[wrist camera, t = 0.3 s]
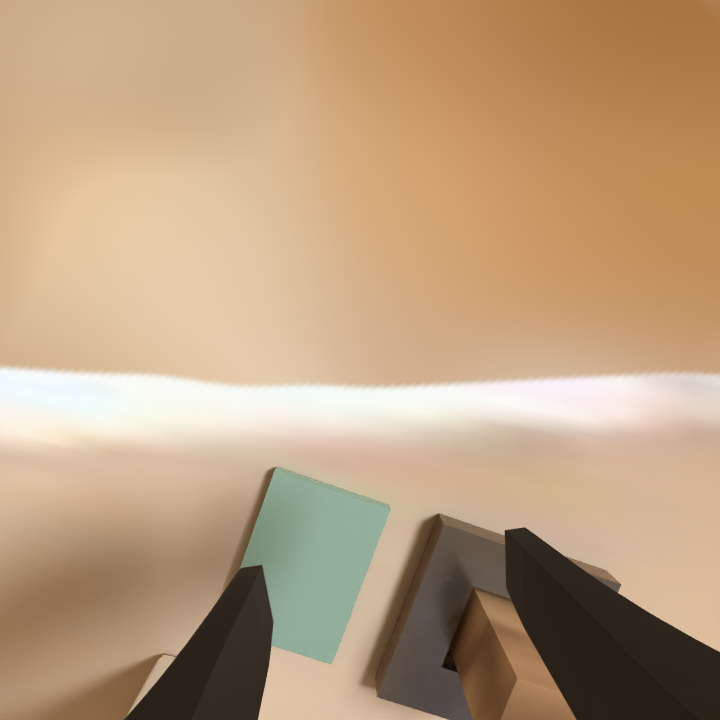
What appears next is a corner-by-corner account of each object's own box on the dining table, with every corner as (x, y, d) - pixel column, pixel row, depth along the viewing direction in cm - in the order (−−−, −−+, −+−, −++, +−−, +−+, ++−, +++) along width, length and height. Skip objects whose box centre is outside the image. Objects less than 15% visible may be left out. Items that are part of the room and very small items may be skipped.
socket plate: (539, 729, 22) (550, 751, 21) (375, 677, 22) (376, 697, 21) (606, 570, 22) (621, 584, 21) (439, 513, 21) (444, 524, 20)
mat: (332, 655, 22) (331, 664, 21) (221, 620, 21) (218, 628, 21) (389, 505, 21) (390, 510, 21) (276, 466, 21) (274, 470, 20)
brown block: (508, 661, 22) (566, 782, 16) (448, 642, 22) (484, 757, 16) (532, 603, 22) (599, 704, 16) (471, 583, 22) (517, 678, 16)
